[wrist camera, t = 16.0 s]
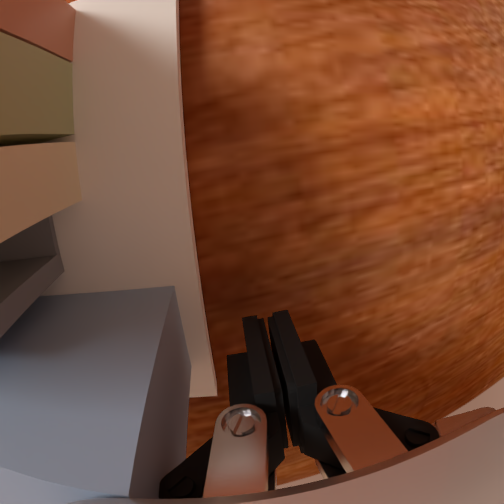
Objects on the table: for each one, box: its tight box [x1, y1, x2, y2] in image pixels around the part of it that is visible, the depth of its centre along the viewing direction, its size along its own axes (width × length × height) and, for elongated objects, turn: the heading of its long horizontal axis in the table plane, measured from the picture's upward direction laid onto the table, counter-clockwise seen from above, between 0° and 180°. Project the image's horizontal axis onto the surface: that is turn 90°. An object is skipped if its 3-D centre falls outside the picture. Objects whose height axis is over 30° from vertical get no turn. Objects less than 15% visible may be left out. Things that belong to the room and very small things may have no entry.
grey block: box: [0, 286, 192, 504], centre depth 8 cm, size 4×11×8 cm, turn 94°
